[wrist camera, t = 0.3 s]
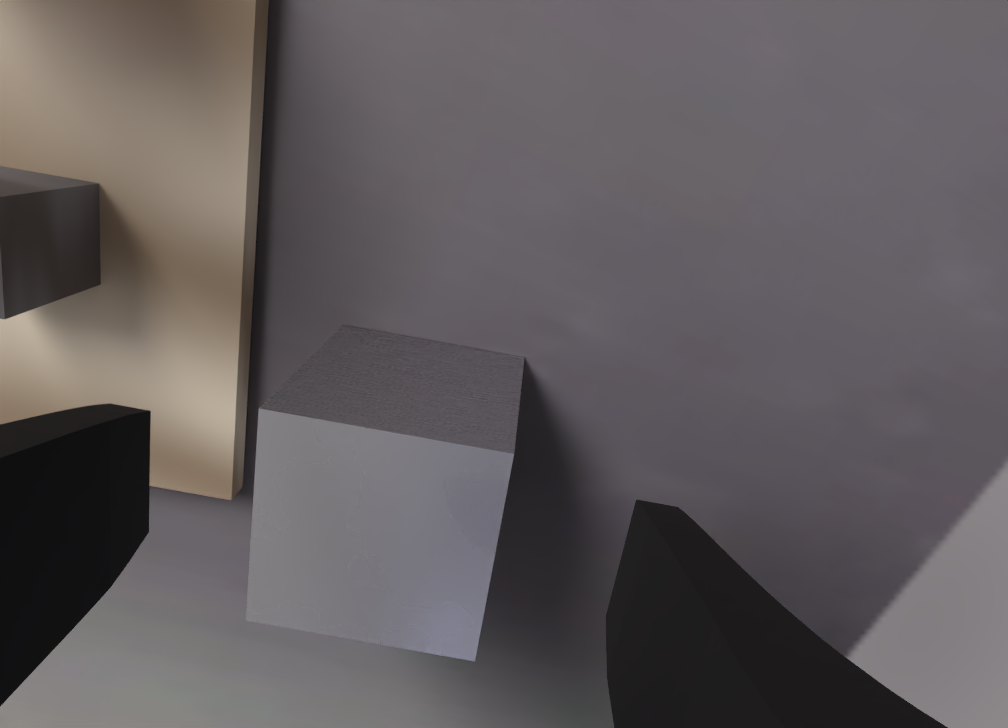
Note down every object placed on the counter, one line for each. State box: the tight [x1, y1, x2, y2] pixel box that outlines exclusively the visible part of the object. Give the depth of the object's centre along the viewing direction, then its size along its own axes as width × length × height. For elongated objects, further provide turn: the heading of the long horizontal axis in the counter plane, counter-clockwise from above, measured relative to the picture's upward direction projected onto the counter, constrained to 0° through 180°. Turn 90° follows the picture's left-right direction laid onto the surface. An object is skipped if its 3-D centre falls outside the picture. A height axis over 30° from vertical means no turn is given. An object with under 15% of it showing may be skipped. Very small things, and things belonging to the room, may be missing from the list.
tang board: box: [0, 0, 269, 500], centre depth 17 cm, size 14×10×4 cm
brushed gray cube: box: [246, 325, 524, 661], centre depth 18 cm, size 5×5×6 cm
